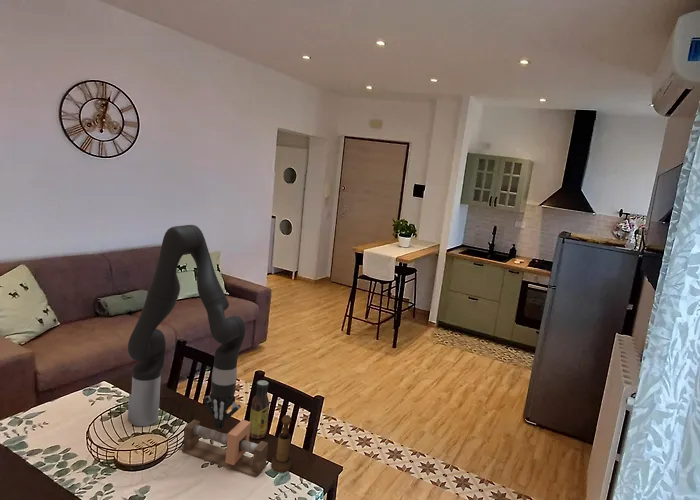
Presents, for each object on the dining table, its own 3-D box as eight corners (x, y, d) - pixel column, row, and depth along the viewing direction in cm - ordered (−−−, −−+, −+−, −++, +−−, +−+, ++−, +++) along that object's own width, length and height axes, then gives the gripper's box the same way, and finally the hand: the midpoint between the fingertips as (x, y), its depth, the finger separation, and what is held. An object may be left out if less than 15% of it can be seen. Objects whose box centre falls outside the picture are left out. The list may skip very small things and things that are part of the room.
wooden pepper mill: (274, 474, 151) (280, 423, 147) (268, 462, 156) (273, 412, 153) (294, 470, 154) (300, 420, 150) (287, 458, 160) (293, 409, 156)
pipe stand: (181, 452, 156) (182, 428, 154) (194, 441, 162) (195, 417, 161) (256, 478, 148) (259, 453, 147) (267, 465, 155) (269, 441, 153)
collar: (225, 462, 150) (227, 433, 148) (239, 447, 158) (242, 419, 156) (233, 465, 149) (236, 436, 147) (248, 449, 157) (250, 422, 156)
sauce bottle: (262, 441, 167) (267, 389, 163) (245, 437, 168) (250, 385, 164) (269, 431, 173) (274, 380, 169) (252, 427, 174) (257, 377, 170)
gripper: (198, 377, 149) (194, 428, 152) (236, 389, 146) (231, 440, 149) (212, 368, 156) (208, 416, 159) (248, 379, 153) (243, 428, 156)
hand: (219, 428), depth 154 cm, fingers closed
